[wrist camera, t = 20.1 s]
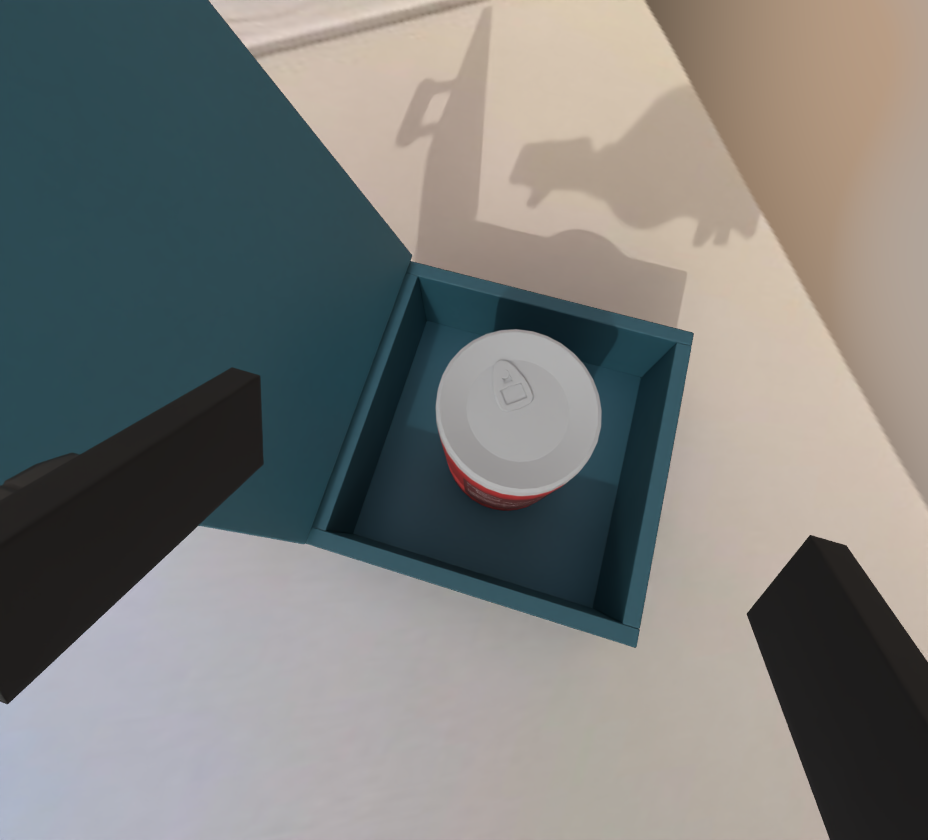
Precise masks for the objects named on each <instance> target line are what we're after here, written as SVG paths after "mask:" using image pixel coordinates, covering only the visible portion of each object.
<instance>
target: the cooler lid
mask: <svg viewBox="0 0 928 840" xmlns="http://www.w3.org/2000/svg"><path fill="white" fill-rule="evenodd" d="M411 258H412V254H411V253H410V252H409V251H408V249H407V248H406V247H405V246H404V244H403V243H402V242H401V241H400V239H399V238H398V237H397V236H396V234H395V233H394V232H393V231H392V229H391V228H390V227H389V226H388V224H387V223H386V222H385V221H384V219H383V218H382V217H381V216H380V214H379V213H378V212H377V211H376V209H375V208H374V207H373V206H372V204H371V203H370V202H369V201H368V199H367V198H366V197H365V196H364V194H363V193H362V192H361V191H360V189H359V188H358V187H357V186H356V184H355V183H354V182H353V181H352V179H351V178H350V177H349V176H348V174H347V173H346V172H345V171H344V169H343V168H342V167H341V166H340V164H339V163H338V162H337V161H336V159H335V158H334V157H333V156H332V154H331V153H330V152H329V151H328V149H327V148H326V147H325V146H324V144H323V143H322V142H321V141H320V139H319V138H318V137H317V136H316V134H315V133H314V132H313V131H312V129H311V128H310V127H309V126H308V124H307V123H306V122H305V121H304V119H303V118H302V117H301V116H300V114H299V113H298V112H297V111H296V109H295V108H294V107H293V106H292V104H291V103H290V102H289V101H288V99H287V98H286V97H285V96H284V94H283V93H282V92H281V91H280V89H279V88H278V87H277V86H276V84H275V83H274V82H273V81H272V79H271V78H270V77H269V76H268V74H267V73H266V72H265V70H264V69H263V68H262V67H261V65H260V64H259V63H258V62H257V60H256V59H255V58H254V57H253V55H252V54H251V53H250V52H249V50H248V49H247V48H246V47H245V45H244V44H243V43H242V42H241V40H240V39H239V38H238V37H237V35H236V34H235V33H234V32H233V30H232V29H231V28H230V27H229V25H228V24H227V23H226V22H225V20H224V19H223V18H222V17H221V15H220V14H219V13H218V12H217V10H216V9H215V8H214V7H213V5H212V4H211V3H210V2H209V0H0V486H1V485H3V484H4V481H6V480H7V479H9V478H11V477H13V476H15V475H17V474H18V473H20V472H22V471H24V470H26V469H28V468H29V467H31V466H33V465H35V464H37V463H40V462H44V461H47V460H50V459H53V458H56V457H59V456H62V455H65V454H68V453H71V452H73V453H76V454H79V455H80V454H82V453H84V452H85V451H87V450H89V449H90V448H92V447H94V446H96V445H97V444H99V443H101V442H103V441H104V440H106V439H108V438H110V437H111V436H113V435H115V434H117V433H118V432H120V431H122V430H124V429H125V428H127V427H129V426H131V425H132V424H134V423H136V422H137V421H139V420H141V419H143V418H144V417H146V416H148V415H150V414H151V413H153V412H155V411H157V410H158V409H160V408H162V407H164V406H165V405H167V404H169V403H171V402H172V401H174V400H176V399H177V398H179V397H181V396H183V395H184V394H186V393H188V392H190V391H191V390H193V389H195V388H197V387H198V386H200V385H202V384H204V383H205V382H207V381H209V380H211V379H212V378H214V377H216V376H217V375H219V374H221V373H223V372H224V371H226V370H228V369H230V368H231V367H233V368H237V369H240V370H243V371H247V372H250V373H254V374H257V375H260V377H261V404H262V431H263V459H264V465H262V466H261V467H260V468H259V469H258V470H257V471H256V472H255V473H254V474H253V475H252V476H251V477H250V478H249V479H248V480H246V481H245V482H244V483H243V484H242V485H241V486H240V487H239V488H238V489H237V490H236V491H235V492H234V493H233V494H232V495H230V496H229V497H228V498H227V499H226V500H225V501H224V502H223V503H222V504H221V505H220V506H219V507H218V508H217V509H216V510H214V511H213V512H212V513H211V514H210V515H209V516H208V517H207V518H206V519H205V520H204V521H203V522H202V523H201V524H200V525H198V526H204V527H209V528H215V529H221V530H226V531H232V532H238V533H243V534H249V535H254V536H260V537H266V538H271V539H277V540H283V541H288V542H294V543H300V544H305V543H306V541H307V538H308V535H309V533H310V530H311V527H312V525H313V522H314V519H315V517H316V514H317V511H318V508H319V506H320V503H321V500H322V498H323V495H324V492H325V490H326V487H327V484H328V481H329V479H330V476H331V473H332V471H333V468H334V465H335V463H336V460H337V457H338V455H339V452H340V449H341V446H342V444H343V441H344V438H345V436H346V433H347V430H348V428H349V425H350V422H351V419H352V417H353V414H354V411H355V409H356V406H357V403H358V401H359V398H360V395H361V393H362V390H363V387H364V384H365V382H366V379H367V376H368V374H369V371H370V368H371V366H372V363H373V360H374V357H375V355H376V352H377V349H378V347H379V344H380V341H381V339H382V336H383V333H384V331H385V328H386V325H387V322H388V320H389V317H390V314H391V312H392V309H393V306H394V304H395V301H396V298H397V295H398V293H399V290H400V287H401V285H402V282H403V279H404V277H405V274H406V271H407V269H408V266H409V263H410V260H411Z"/></svg>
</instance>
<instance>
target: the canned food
mask: <svg viewBox="0 0 928 840" xmlns="http://www.w3.org/2000/svg"><path fill="white" fill-rule="evenodd" d="M601 411H602V410H601V405H600V399H599V394H598V391H597V388H596V386H595V383H594V380H593V378H592V377H591V375H590V373H589V372H588V370H587V368H586V367H585V365H584V364H583V363H582V362H581V361H580V360H579V359H578V357H577V356H576V355H575V354H574V353H573V352H572V351H570V350H569V349H568V348H566V347H565V346H564V345H563V344H561V343H559V342H558V341H556V340H554V339H552V338H550V337H548V336H546V335H542V334H539V333H536V332H533V331H526V330H518V329H514V330H500V331H496V332H492V333H489V334H486V335H483V336H481V337H479V338H477V339H475V340H473V341H472V342H470V343H469V344H467V345H466V346H465V347H463V348H462V349H461V350H460V351H459V352H458V353H457V354H456V355H455V356H454V358H453V359H452V360H451V361H450V363H449V364H448V366H447V368H446V370H445V371H444V373H443V375H442V378H441V381H440V384H439V387H438V392H437V400H436V422H437V427H438V432H439V436H440V439H441V443H442V446H443V450H444V453H445V456H446V459H447V462H448V466H449V469H450V472H451V474H452V476H453V478H454V480H455V482H456V483H457V484H458V486H459V487H460V488H461V490H462V491H463V492H464V493H465V494H466V495H468V496H469V497H470V498H471V499H472V500H474V501H476V502H477V503H479V504H481V505H483V506H486V507H488V508H491V509H496V510H503V511H507V510H518V509H521V508H525V507H528V506H530V505H532V504H533V503H535V502H537V501H539V500H541V499H542V498H544V497H545V496H547V495H549V494H550V493H552V492H554V491H555V490H557V489H559V488H560V487H562V486H563V485H564V484H566V483H567V482H568V481H569V480H571V479H572V478H573V477H574V476H575V475H577V474H578V473H579V472H580V470H581V469H582V468H583V467H584V465H585V464H586V463H587V461H588V460H589V458H590V457H591V455H592V452H593V450H594V448H595V446H596V444H597V442H598V437H599V433H600V429H601Z"/></svg>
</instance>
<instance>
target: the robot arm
mask: <svg viewBox="0 0 928 840" xmlns="http://www.w3.org/2000/svg"><path fill="white" fill-rule="evenodd" d="M262 465H264V459H263V431H262V404H261V377H260V375H257V374H254V373H250V372H247V371H243V370H240V369H237V368H233V367H231V368H230V369H228V370H226V371H224V372H223V373H221V374H219V375H217V376H216V377H214V378H212V379H211V380H209V381H207V382H205V383H204V384H202V385H200V386H198V387H197V388H195V389H193V390H191V391H190V392H188V393H186V394H184V395H183V396H181V397H179V398H177V399H176V400H174V401H172V402H171V403H169V404H167V405H165V406H164V407H162V408H160V409H158V410H157V411H155V412H153V413H151V414H150V415H148V416H146V417H144V418H143V419H141V420H139V421H137V422H136V423H134V424H132V425H131V426H129V427H127V428H125V429H124V430H122V431H120V432H118V433H117V434H115V435H113V436H111V437H110V438H108V439H106V440H104V441H103V442H101V443H99V444H97V445H96V446H94V447H92V448H90V449H89V450H87V451H85V452H84V453H82V454H80V455H79V454H76V453H73V452H71V453H68V454H65V455H62V456H59V457H56V458H53V459H50V460H47V461H44V462H40V463H37V464H35V465H33V466H31V467H29V468H28V469H26V470H24V471H22V472H20V473H18V474H17V475H15V476H13V477H11V478H9V479H7V480H6V481H4V484H3V485H1V486H0V702H3V703H5V704H9V703H10V702H11V701H12V700H13V699H14V698H15V697H16V696H17V695H18V694H19V693H20V692H21V691H22V690H24V689H25V688H26V687H27V686H28V685H29V684H30V683H31V682H32V681H33V680H34V679H35V678H36V677H37V676H38V675H40V674H41V673H42V672H43V671H44V670H45V669H46V668H47V667H48V666H49V665H50V664H51V663H52V662H53V661H54V660H56V659H57V658H58V657H59V656H60V655H61V654H62V653H63V652H64V651H65V650H66V649H67V648H68V647H69V646H70V645H72V644H73V643H74V642H75V641H76V640H77V639H78V638H79V637H80V636H81V635H82V634H83V633H84V632H85V631H86V630H88V629H89V628H90V627H91V626H92V625H93V624H94V623H95V622H96V621H97V620H98V619H99V618H100V617H101V616H102V615H104V614H105V613H106V612H107V611H108V610H109V609H110V608H111V607H112V606H113V605H114V604H115V603H116V602H117V601H118V600H120V599H121V598H122V597H123V596H124V595H125V594H126V593H127V592H128V591H129V590H130V589H131V588H132V587H133V586H134V585H136V584H137V583H138V582H139V581H140V580H141V579H142V578H143V577H144V576H145V575H146V574H147V573H148V572H149V571H150V570H152V569H153V568H154V567H155V566H156V565H157V564H158V563H159V562H160V561H161V560H162V559H163V558H164V557H165V556H166V555H168V554H169V553H170V552H171V551H172V550H173V549H174V548H175V547H176V546H177V545H178V544H179V543H180V542H181V541H182V540H184V539H185V538H186V537H187V536H188V535H189V534H190V533H191V532H192V531H193V530H194V529H195V528H196V527H197V526H198V525H200V524H201V523H202V522H203V521H204V520H205V519H206V518H207V517H208V516H209V515H210V514H211V513H212V512H213V511H214V510H216V509H217V508H218V507H219V506H220V505H221V504H222V503H223V502H224V501H225V500H226V499H227V498H228V497H229V496H230V495H232V494H233V493H234V492H235V491H236V490H237V489H238V488H239V487H240V486H241V485H242V484H243V483H244V482H245V481H246V480H248V479H249V478H250V477H251V476H252V475H253V474H254V473H255V472H256V471H257V470H258V469H259V468H260V467H261V466H262ZM747 616H748V619H749V621H750V624H751V627H752V630H753V632H754V635H755V638H756V640H757V643H758V646H759V649H760V651H761V654H762V657H763V659H764V662H765V665H766V667H767V670H768V673H769V676H770V678H771V681H772V684H773V686H774V689H775V692H776V695H777V697H778V700H779V703H780V705H781V708H782V711H783V714H784V716H785V719H786V722H787V724H788V727H789V730H790V733H791V735H792V738H793V741H794V743H795V746H796V749H797V752H798V754H799V757H800V760H801V762H802V765H803V768H804V771H805V773H806V776H807V779H808V781H809V784H810V787H811V790H812V792H813V795H814V798H815V800H816V803H817V806H818V809H819V811H820V814H821V817H822V819H823V822H824V825H825V827H826V830H827V833H828V836H829V838H830V840H928V662H927V660H926V659H925V658H924V656H923V655H922V653H921V652H920V650H919V649H918V648H917V646H916V645H915V643H914V642H913V640H912V639H911V637H910V636H909V635H908V633H907V632H906V630H905V629H904V627H903V626H902V625H901V623H900V622H899V620H898V619H897V617H896V616H895V615H894V613H893V612H892V610H891V609H890V607H889V606H888V605H887V603H886V602H885V600H884V599H883V597H882V596H881V594H880V593H879V592H878V590H877V589H876V587H875V586H874V584H873V583H872V582H871V580H870V579H869V577H868V576H867V574H866V573H865V572H864V570H863V569H862V567H861V566H860V564H859V563H858V562H857V560H856V559H855V557H854V556H853V554H852V553H851V551H850V550H849V549H848V547H847V546H846V545H843V544H839V543H836V542H832V541H829V540H826V539H822V538H819V537H815V536H812V535H810V536H809V537H808V538H807V540H806V541H805V542H804V543H803V545H802V546H801V547H800V548H799V549H798V551H797V552H796V553H795V554H794V556H793V557H792V558H791V559H790V561H789V562H788V563H787V564H786V566H785V567H784V568H783V569H782V571H781V572H780V573H779V574H778V576H777V577H776V578H775V579H774V581H773V582H772V583H771V584H770V586H769V587H768V588H767V589H766V590H765V592H764V593H763V594H762V595H761V597H760V598H759V599H758V600H757V602H756V603H755V604H754V605H753V607H752V608H751V609H750V610H749V612H748V613H747Z"/></svg>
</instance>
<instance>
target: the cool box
mask: <svg viewBox="0 0 928 840" xmlns="http://www.w3.org/2000/svg"><path fill="white" fill-rule="evenodd" d="M514 329H518V330H526V331H533V332H536V333H539V334H542V335H546V336H548V337H550V338H552V339H554V340H556V341H558V342H559V343H561V344H563V345H564V346H565V347H566V348H568V349H569V350H570V351H572V352H573V353H574V354H575V355H576V356H577V357H578V359H579V360H580V361H581V362H582V363H583V364H584V365H585V367H586V368H587V370H588V372H589V373H590V375H591V377H592V378H593V380H594V383H595V386H596V388H597V391H598V394H599V399H600V405H601V410H602V411H601V429H600V433H599V437H598V442H597V444H596V446H595V448H594V450H593V452H592V455H591V457H590V458H589V460H588V461H587V463H586V464H585V465H584V467H583V468H582V469H581V470H580V472H579V473H578V474H577V475H575V476H574V477H573V478H572V479H571V480H569V481H568V482H567V483H566V484H564V485H563V486H562V487H560V488H559V489H557V490H555V491H554V492H552V493H550V494H549V495H547V496H545V497H544V498H542V499H541V500H539V501H537V502H535V503H533V504H532V505H530V506H528V507H525V508H521V509H518V510H507V511H503V510H496V509H491V508H488V507H486V506H483V505H481V504H479V503H477V502H476V501H474V500H472V499H471V498H470V497H469V496H468V495H466V494H465V493H464V492H463V491H462V490H461V488H460V487H459V486H458V484H457V483H456V482H455V480H454V478H453V476H452V474H451V472H450V469H449V466H448V462H447V459H446V456H445V453H444V450H443V446H442V443H441V439H440V436H439V432H438V427H437V422H436V400H437V392H438V387H439V384H440V381H441V378H442V375H443V373H444V371H445V370H446V368H447V366H448V364H449V363H450V361H451V360H452V359H453V358H454V356H455V355H456V354H457V353H458V352H459V351H460V350H461V349H462V348H463V347H465V346H466V345H467V344H469V343H470V342H472V341H473V340H475V339H477V338H479V337H481V336H483V335H486V334H489V333H492V332H496V331H500V330H514ZM693 335H694V333H692V332H688V331H684V330H680V329H676V328H672V327H668V326H664V325H661V324H657V323H653V322H649V321H645V320H641V319H637V318H633V317H629V316H625V315H621V314H617V313H613V312H609V311H605V310H601V309H597V308H593V307H589V306H586V305H582V304H578V303H574V302H570V301H566V300H562V299H558V298H554V297H550V296H546V295H542V294H538V293H534V292H530V291H526V290H522V289H518V288H515V287H511V286H507V285H503V284H499V283H495V282H491V281H487V280H483V279H479V278H475V277H471V276H467V275H463V274H459V273H455V272H451V271H447V270H443V269H440V268H436V267H432V266H428V265H424V264H420V263H416V262H412V261H410V263H409V266H408V269H407V271H406V274H405V277H404V279H403V282H402V285H401V287H400V290H399V293H398V295H397V298H396V301H395V304H394V306H393V309H392V312H391V314H390V317H389V320H388V322H387V325H386V328H385V331H384V333H383V336H382V339H381V341H380V344H379V347H378V349H377V352H376V355H375V357H374V360H373V363H372V366H371V368H370V371H369V374H368V376H367V379H366V382H365V384H364V387H363V390H362V393H361V395H360V398H359V401H358V403H357V406H356V409H355V411H354V414H353V417H352V419H351V422H350V425H349V428H348V430H347V433H346V436H345V438H344V441H343V444H342V446H341V449H340V452H339V455H338V457H337V460H336V463H335V465H334V468H333V471H332V473H331V476H330V479H329V481H328V484H327V487H326V490H325V492H324V495H323V498H322V500H321V503H320V506H319V508H318V511H317V514H316V517H315V519H314V522H313V525H312V527H311V530H310V533H309V535H308V538H307V541H306V544H309V545H312V546H315V547H319V548H322V549H325V550H328V551H331V552H334V553H338V554H341V555H344V556H347V557H350V558H353V559H356V560H360V561H363V562H366V563H369V564H372V565H375V566H379V567H382V568H385V569H388V570H391V571H394V572H398V573H401V574H404V575H407V576H410V577H413V578H416V579H420V580H423V581H426V582H429V583H432V584H435V585H439V586H442V587H445V588H448V589H451V590H454V591H458V592H461V593H464V594H467V595H470V596H473V597H477V598H480V599H483V600H486V601H489V602H492V603H495V604H499V605H502V606H505V607H508V608H511V609H514V610H518V611H521V612H524V613H527V614H530V615H533V616H537V617H540V618H543V619H546V620H549V621H552V622H556V623H559V624H562V625H565V626H568V627H571V628H574V629H578V630H581V631H584V632H587V633H590V634H593V635H597V636H600V637H603V638H606V639H609V640H612V641H616V642H619V643H622V644H625V645H628V646H631V647H634V648H636V647H637V641H638V636H639V628H640V624H641V619H642V613H643V608H644V602H645V597H646V591H647V586H648V580H649V575H650V570H651V564H652V559H653V553H654V548H655V542H656V537H657V531H658V526H659V521H660V515H661V510H662V504H663V499H664V493H665V488H666V483H667V477H668V472H669V466H670V461H671V455H672V450H673V444H674V439H675V434H676V428H677V423H678V417H679V412H680V406H681V401H682V395H683V390H684V385H685V379H686V374H687V368H688V363H689V357H690V352H691V345H692V340H693Z"/></svg>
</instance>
